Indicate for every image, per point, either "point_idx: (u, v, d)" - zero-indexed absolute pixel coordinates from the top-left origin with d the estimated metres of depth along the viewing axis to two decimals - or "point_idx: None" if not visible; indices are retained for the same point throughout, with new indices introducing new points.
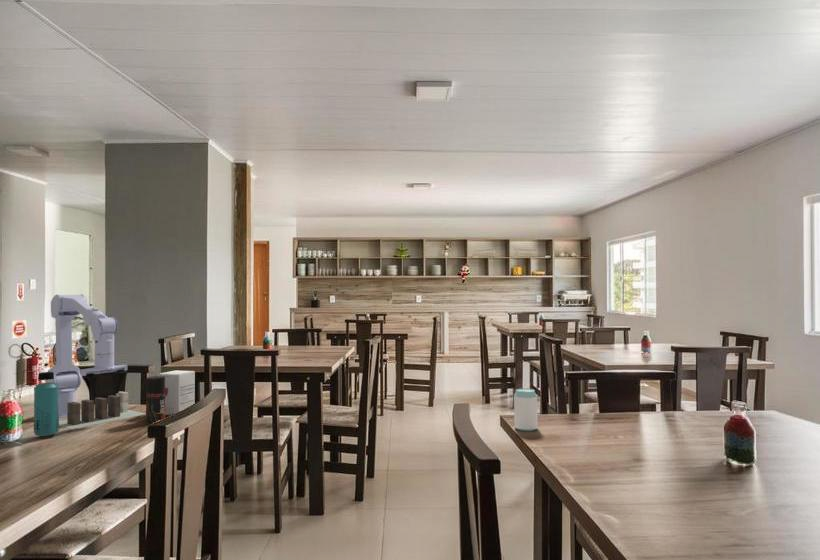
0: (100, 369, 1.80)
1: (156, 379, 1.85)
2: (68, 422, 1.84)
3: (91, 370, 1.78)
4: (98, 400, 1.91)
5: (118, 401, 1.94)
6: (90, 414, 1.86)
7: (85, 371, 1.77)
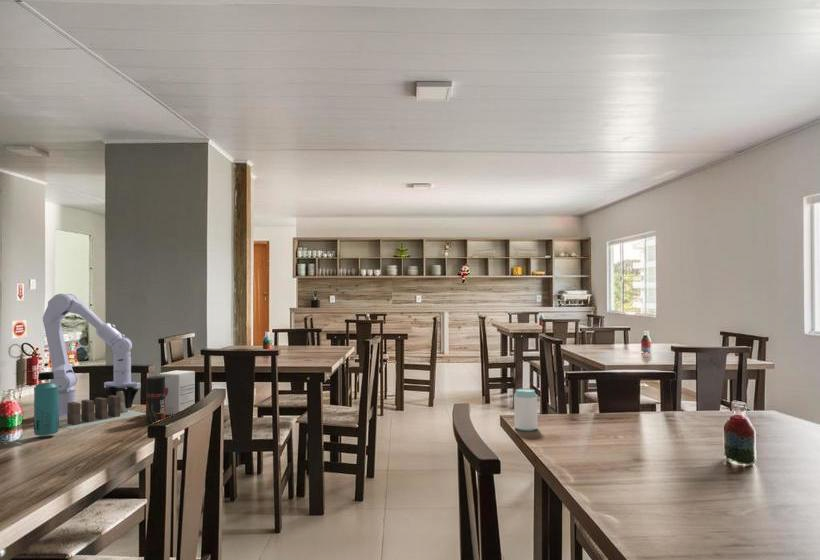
0: (111, 384, 2.02)
1: (156, 379, 1.85)
2: (68, 422, 1.84)
3: (108, 384, 2.03)
4: (98, 400, 1.91)
5: (118, 401, 1.94)
6: (90, 414, 1.86)
7: (105, 384, 2.04)
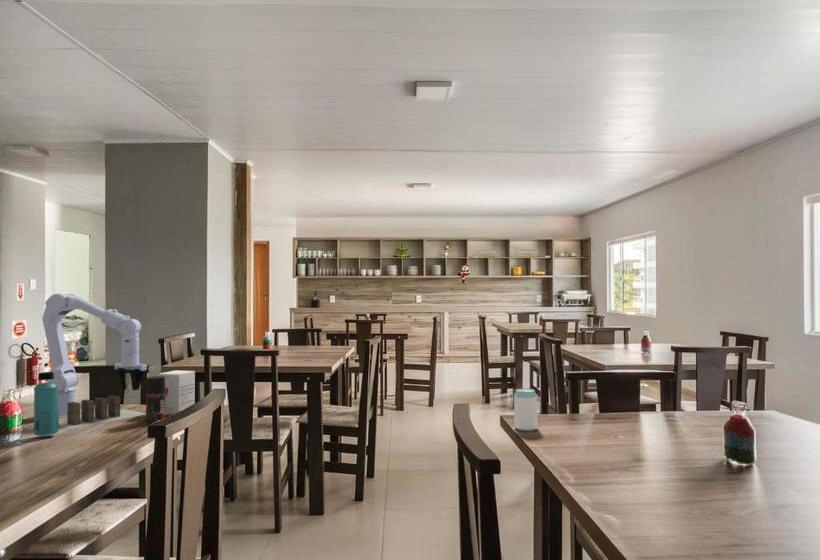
0: None
1: (156, 379, 1.85)
2: (68, 422, 1.84)
3: (117, 365, 2.01)
4: (98, 400, 1.91)
5: (118, 401, 1.94)
6: (90, 414, 1.86)
7: (115, 365, 2.02)
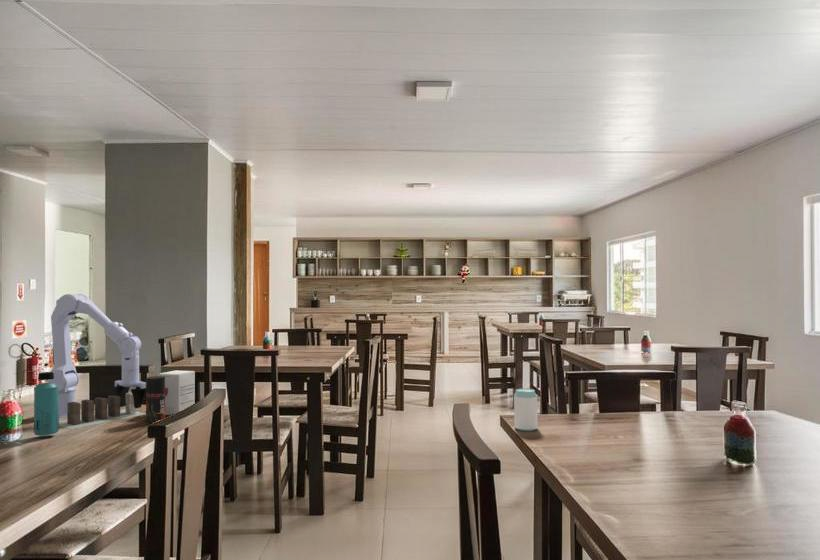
0: (120, 383, 1.99)
1: (156, 379, 1.85)
2: (68, 422, 1.84)
3: (117, 382, 2.01)
4: (98, 400, 1.91)
5: (118, 401, 1.94)
6: (90, 414, 1.86)
7: (115, 382, 2.02)
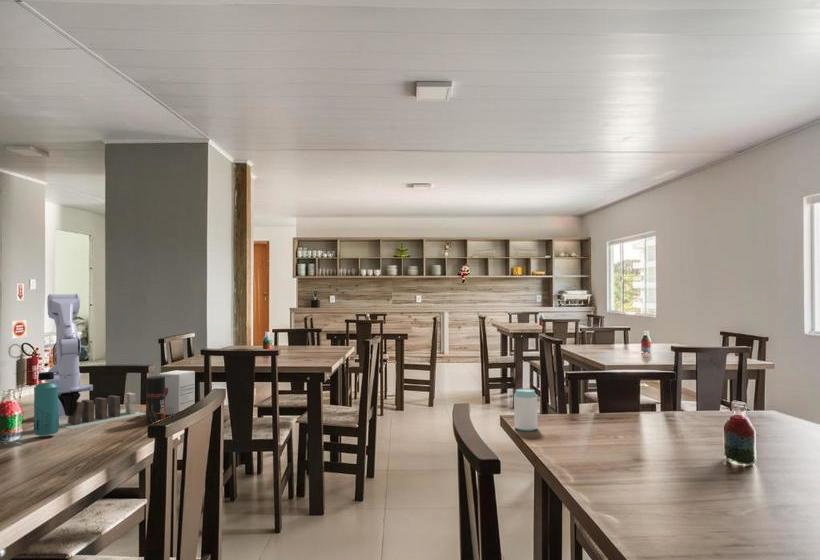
0: (64, 390, 1.79)
1: (156, 379, 1.85)
2: (68, 421, 1.84)
3: None
4: (98, 400, 1.91)
5: (118, 401, 1.94)
6: (90, 414, 1.86)
7: None
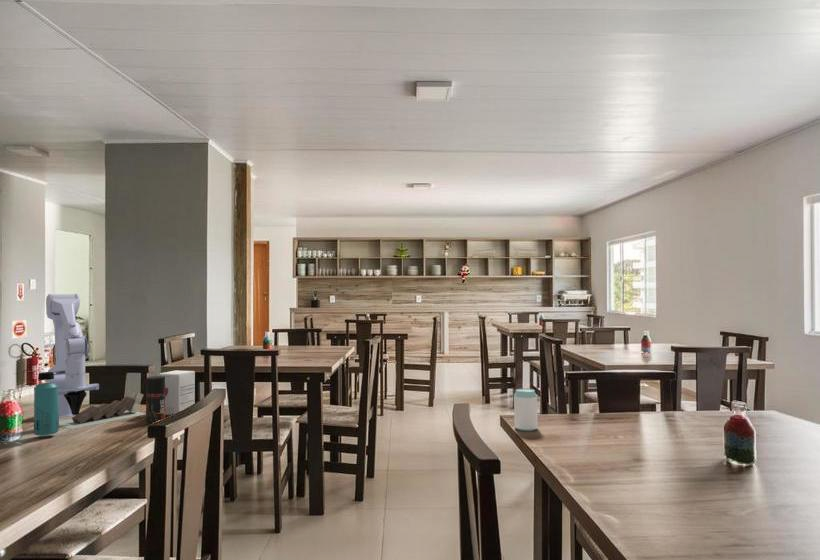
0: (70, 389, 1.81)
1: (156, 379, 1.85)
2: (73, 417, 1.85)
3: (61, 390, 1.80)
4: (117, 401, 1.96)
5: (130, 403, 1.98)
6: (100, 413, 1.89)
7: None
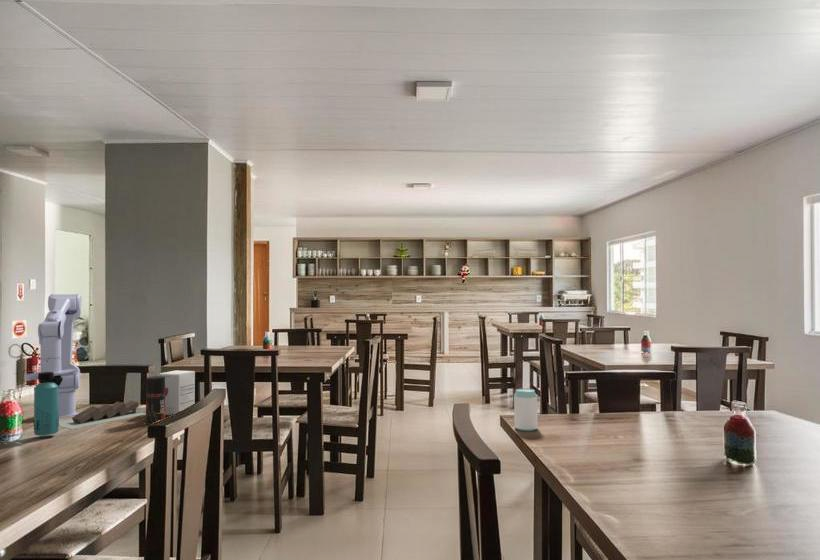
0: None
1: (156, 379, 1.85)
2: (74, 417, 1.85)
3: (36, 375, 1.73)
4: (119, 403, 1.97)
5: (134, 407, 1.99)
6: (100, 414, 1.89)
7: (29, 376, 1.72)
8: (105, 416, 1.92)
